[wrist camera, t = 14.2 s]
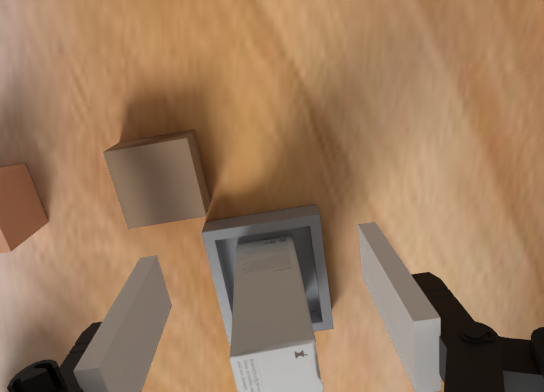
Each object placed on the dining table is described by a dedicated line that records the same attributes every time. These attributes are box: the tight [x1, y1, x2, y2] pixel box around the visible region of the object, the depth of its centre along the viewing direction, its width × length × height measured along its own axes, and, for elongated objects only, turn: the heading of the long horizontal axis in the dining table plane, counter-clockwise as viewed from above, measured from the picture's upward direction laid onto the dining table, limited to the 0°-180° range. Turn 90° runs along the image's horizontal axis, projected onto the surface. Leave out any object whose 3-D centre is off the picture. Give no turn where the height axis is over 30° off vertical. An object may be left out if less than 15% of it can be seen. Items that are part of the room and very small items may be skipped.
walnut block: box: [103, 130, 211, 229], centre depth 34 cm, size 7×7×4 cm
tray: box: [202, 205, 334, 344], centre depth 39 cm, size 11×13×2 cm
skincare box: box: [229, 236, 323, 392], centre depth 32 cm, size 8×6×15 cm
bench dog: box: [0, 163, 48, 253], centre depth 33 cm, size 3×6×6 cm, turn 9°
